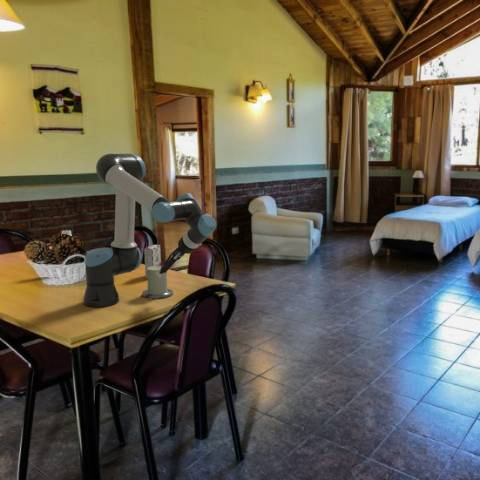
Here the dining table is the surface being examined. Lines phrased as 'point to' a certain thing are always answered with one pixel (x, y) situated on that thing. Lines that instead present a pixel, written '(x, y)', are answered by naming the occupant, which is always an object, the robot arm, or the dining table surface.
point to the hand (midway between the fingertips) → (166, 266)
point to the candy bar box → (152, 257)
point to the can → (156, 281)
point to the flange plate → (150, 296)
